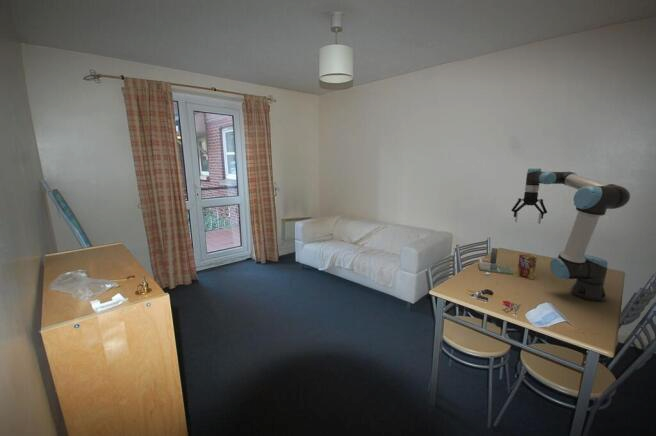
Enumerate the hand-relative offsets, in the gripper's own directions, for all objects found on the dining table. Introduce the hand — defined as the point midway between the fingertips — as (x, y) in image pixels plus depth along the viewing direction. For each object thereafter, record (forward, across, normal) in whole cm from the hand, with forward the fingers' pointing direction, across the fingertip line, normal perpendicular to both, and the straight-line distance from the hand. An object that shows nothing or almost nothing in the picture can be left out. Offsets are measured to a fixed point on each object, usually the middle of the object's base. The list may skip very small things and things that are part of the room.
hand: (527, 222), depth 199 cm
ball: (+32, +23, +4) cm, 40 cm away
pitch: (+35, +17, +4) cm, 39 cm away
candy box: (+35, 0, +12) cm, 37 cm away
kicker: (+33, +18, +4) cm, 38 cm away
